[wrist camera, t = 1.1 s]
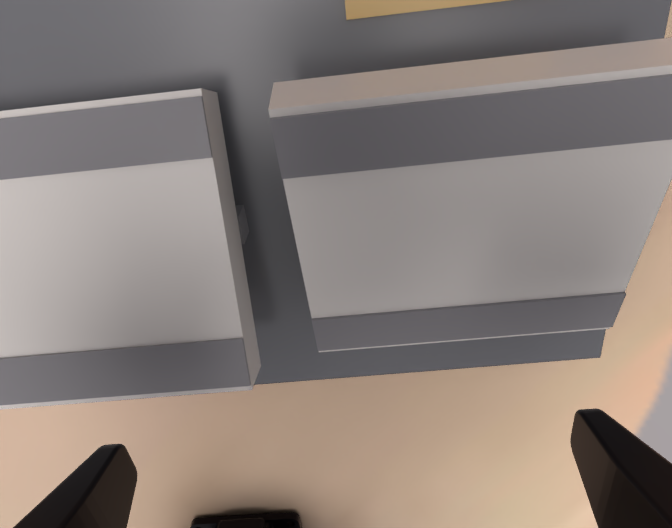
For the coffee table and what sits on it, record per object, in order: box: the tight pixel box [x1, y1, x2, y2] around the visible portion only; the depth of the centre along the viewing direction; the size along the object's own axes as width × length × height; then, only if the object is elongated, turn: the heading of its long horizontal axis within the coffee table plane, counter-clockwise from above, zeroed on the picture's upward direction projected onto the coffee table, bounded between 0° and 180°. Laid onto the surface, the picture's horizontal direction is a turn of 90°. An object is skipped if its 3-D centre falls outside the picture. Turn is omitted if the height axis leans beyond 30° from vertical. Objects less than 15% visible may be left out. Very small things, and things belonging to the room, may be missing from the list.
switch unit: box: [0, 0, 671, 385], centre depth 17 cm, size 15×24×4 cm, turn 96°
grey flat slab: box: [268, 37, 672, 352], centre depth 14 cm, size 9×10×2 cm
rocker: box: [0, 88, 261, 409], centre depth 15 cm, size 9×10×2 cm
